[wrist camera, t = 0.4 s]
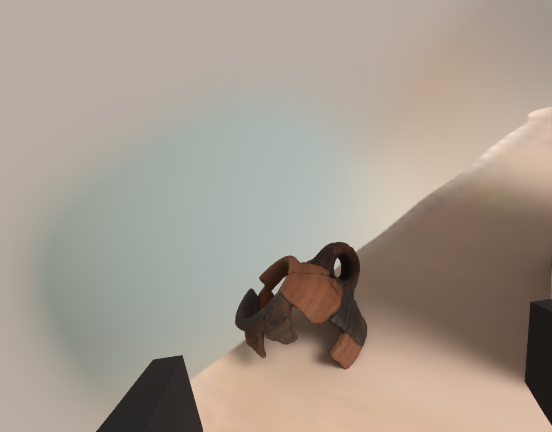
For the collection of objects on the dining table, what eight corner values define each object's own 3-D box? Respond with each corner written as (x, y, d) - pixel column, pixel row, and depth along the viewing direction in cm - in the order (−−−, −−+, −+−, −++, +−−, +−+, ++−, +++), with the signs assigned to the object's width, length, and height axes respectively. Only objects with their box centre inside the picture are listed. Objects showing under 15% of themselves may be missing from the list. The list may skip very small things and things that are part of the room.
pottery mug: (336, 409, 31) (253, 341, 29) (280, 383, 39) (212, 328, 38) (410, 277, 36) (342, 210, 34) (345, 279, 44) (288, 225, 42)
